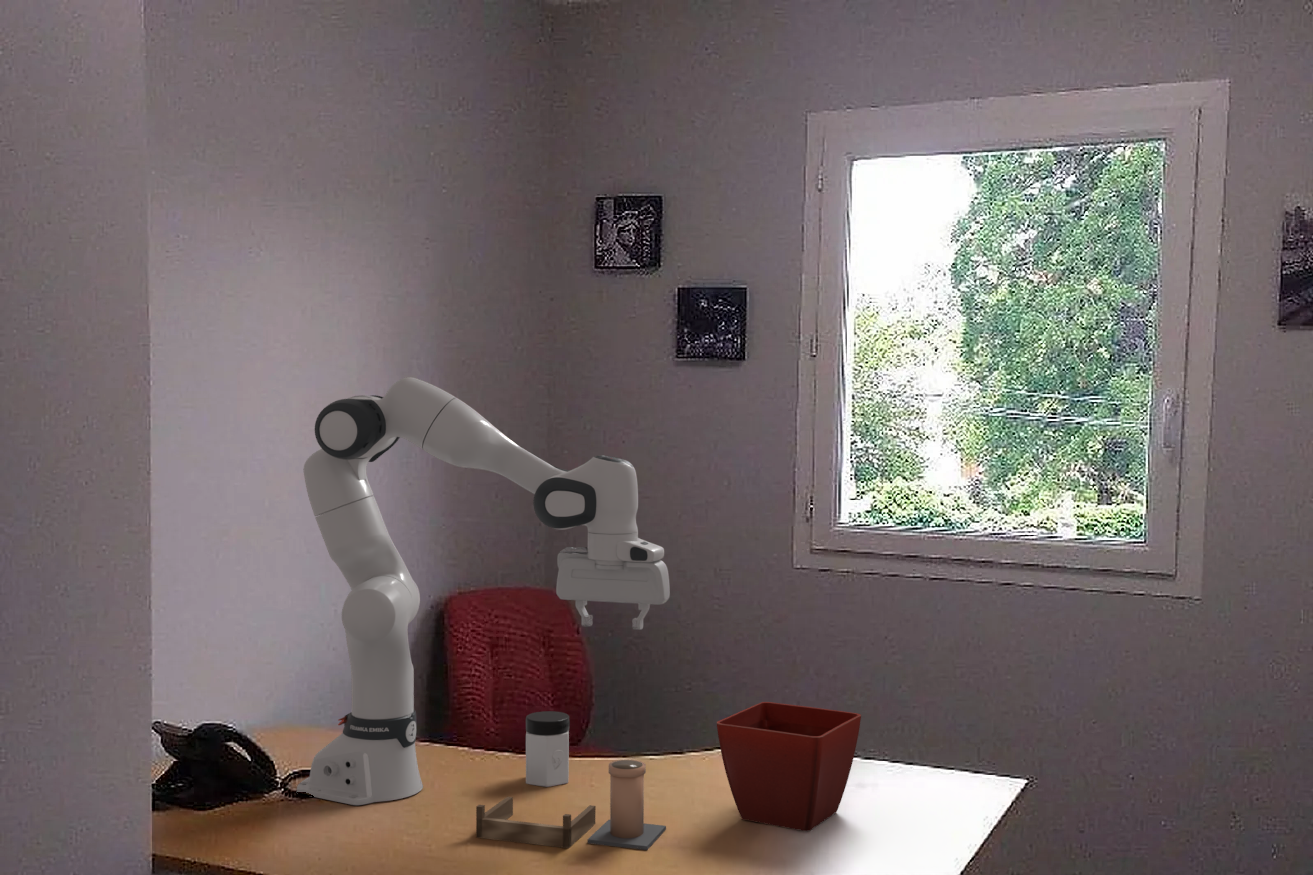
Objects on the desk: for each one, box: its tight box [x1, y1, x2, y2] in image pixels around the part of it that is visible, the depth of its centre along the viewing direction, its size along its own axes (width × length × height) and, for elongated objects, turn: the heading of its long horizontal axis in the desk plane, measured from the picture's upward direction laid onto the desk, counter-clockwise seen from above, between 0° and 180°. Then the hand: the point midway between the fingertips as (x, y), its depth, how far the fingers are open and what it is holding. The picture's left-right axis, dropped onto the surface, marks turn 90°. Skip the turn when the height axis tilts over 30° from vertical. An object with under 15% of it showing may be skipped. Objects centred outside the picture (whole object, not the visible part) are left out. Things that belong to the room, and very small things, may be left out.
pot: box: [608, 759, 647, 838], centre depth 193 cm, size 6×6×11 cm
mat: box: [586, 819, 667, 851], centre depth 193 cm, size 10×10×1 cm
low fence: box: [475, 796, 596, 849], centre depth 196 cm, size 16×12×5 cm
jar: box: [525, 710, 571, 788], centre depth 223 cm, size 9×8×12 cm
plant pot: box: [716, 701, 862, 832], centre depth 204 cm, size 19×19×17 cm
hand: (612, 627), depth 210 cm, fingers open, 8 cm apart
